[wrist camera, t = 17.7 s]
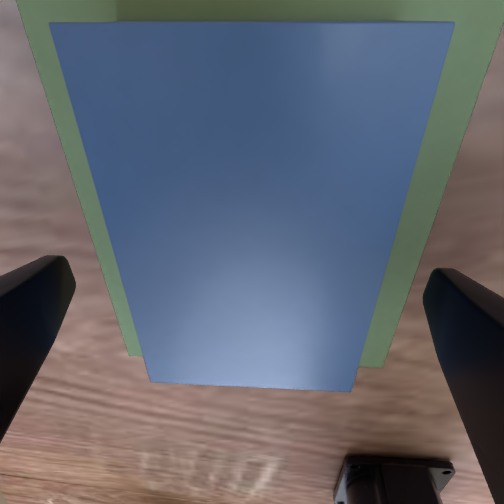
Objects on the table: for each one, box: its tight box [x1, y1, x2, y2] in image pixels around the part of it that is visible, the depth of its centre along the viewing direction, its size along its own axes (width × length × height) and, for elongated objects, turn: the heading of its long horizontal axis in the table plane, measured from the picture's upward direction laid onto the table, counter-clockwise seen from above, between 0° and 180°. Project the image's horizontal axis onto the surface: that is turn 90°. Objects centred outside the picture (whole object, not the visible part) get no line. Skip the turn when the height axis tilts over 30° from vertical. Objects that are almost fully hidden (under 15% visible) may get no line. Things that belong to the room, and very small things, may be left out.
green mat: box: [16, 0, 504, 368], centre depth 12 cm, size 16×12×1 cm
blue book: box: [48, 21, 455, 392], centre depth 10 cm, size 10×7×3 cm, turn 0°
